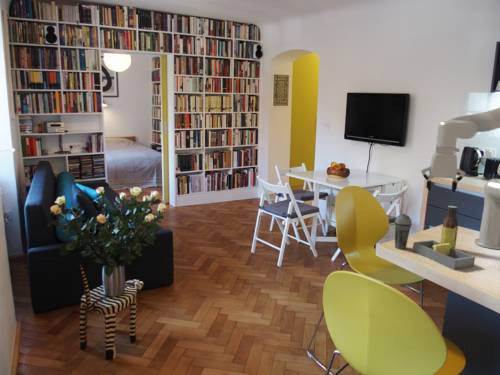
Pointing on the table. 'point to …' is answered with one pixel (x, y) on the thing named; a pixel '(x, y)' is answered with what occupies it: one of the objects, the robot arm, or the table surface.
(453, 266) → the grey tray
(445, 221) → the sauce bottle
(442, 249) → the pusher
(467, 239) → the table surface
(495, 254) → the table surface
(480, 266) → the table surface
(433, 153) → the robot arm
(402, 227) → the beverage cup
